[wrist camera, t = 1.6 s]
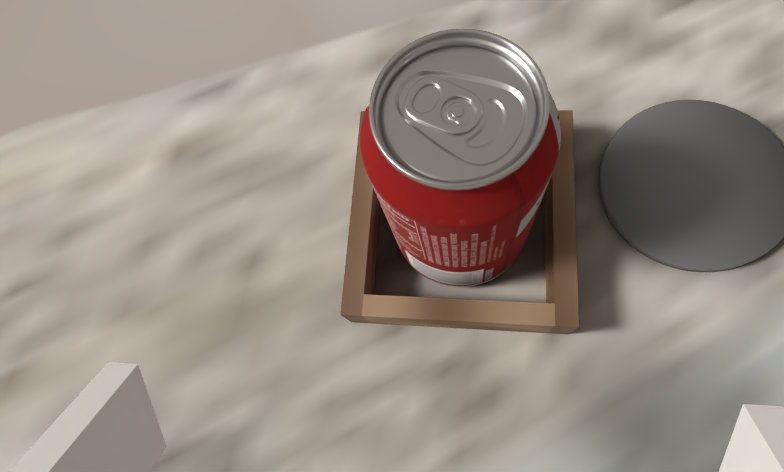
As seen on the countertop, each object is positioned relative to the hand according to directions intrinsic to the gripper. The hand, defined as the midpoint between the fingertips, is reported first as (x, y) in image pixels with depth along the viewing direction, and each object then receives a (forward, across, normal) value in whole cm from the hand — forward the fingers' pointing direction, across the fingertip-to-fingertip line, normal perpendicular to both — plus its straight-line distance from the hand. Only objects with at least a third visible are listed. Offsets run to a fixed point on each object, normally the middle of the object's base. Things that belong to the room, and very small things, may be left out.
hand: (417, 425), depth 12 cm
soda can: (+16, +1, -3) cm, 17 cm away
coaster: (+18, +12, -1) cm, 22 cm away
